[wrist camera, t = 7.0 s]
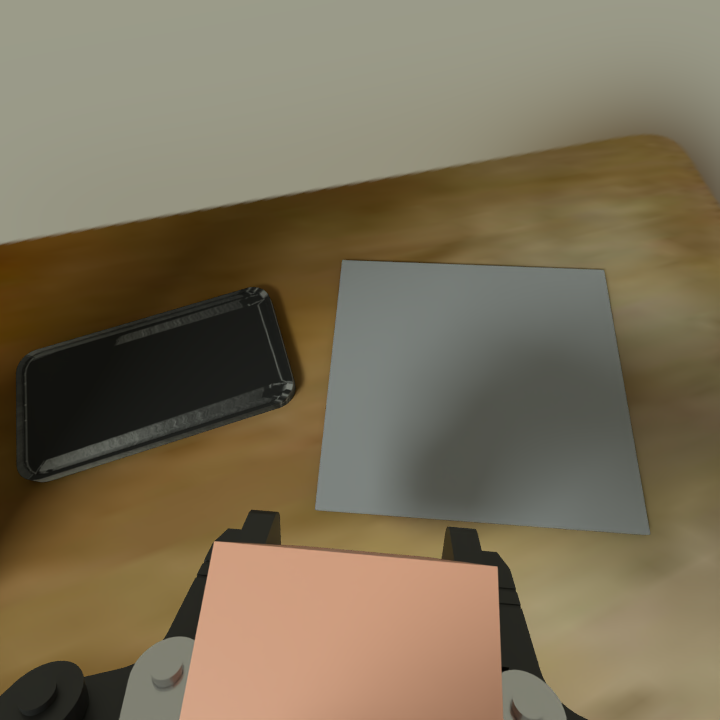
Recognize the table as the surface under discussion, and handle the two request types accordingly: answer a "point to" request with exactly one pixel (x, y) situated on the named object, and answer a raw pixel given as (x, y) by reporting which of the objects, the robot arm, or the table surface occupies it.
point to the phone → (149, 384)
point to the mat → (479, 399)
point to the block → (344, 637)
